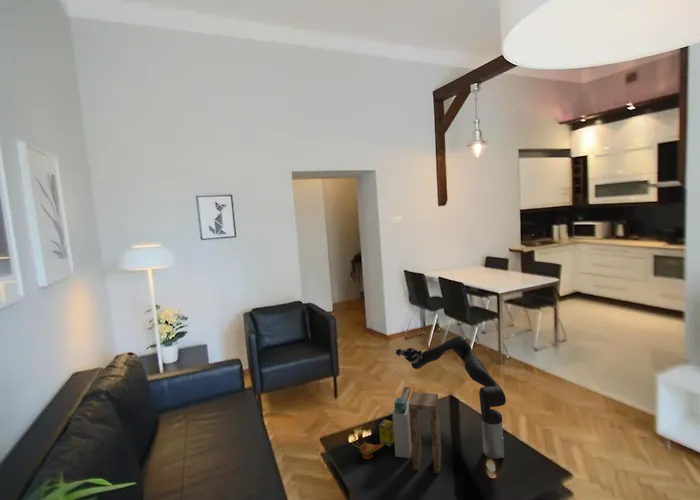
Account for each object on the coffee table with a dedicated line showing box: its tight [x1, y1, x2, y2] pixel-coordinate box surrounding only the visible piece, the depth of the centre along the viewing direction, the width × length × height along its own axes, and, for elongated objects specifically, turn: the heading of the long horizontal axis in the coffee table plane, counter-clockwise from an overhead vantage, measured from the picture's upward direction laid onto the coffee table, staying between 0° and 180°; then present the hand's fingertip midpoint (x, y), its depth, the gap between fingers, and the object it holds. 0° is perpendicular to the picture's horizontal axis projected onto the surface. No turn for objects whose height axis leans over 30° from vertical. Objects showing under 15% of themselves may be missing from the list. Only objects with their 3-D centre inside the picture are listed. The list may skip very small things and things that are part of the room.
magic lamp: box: [351, 434, 388, 460], centre depth 186 cm, size 7×18×11 cm, turn 83°
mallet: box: [393, 386, 411, 413], centre depth 193 cm, size 5×22×5 cm, turn 162°
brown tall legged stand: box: [409, 391, 442, 474], centre depth 176 cm, size 12×12×32 cm
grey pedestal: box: [392, 399, 412, 459], centre depth 190 cm, size 7×14×22 cm, turn 162°
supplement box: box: [378, 419, 395, 448], centre depth 196 cm, size 6×6×11 cm
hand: (406, 351), depth 208 cm, fingers open, 8 cm apart
